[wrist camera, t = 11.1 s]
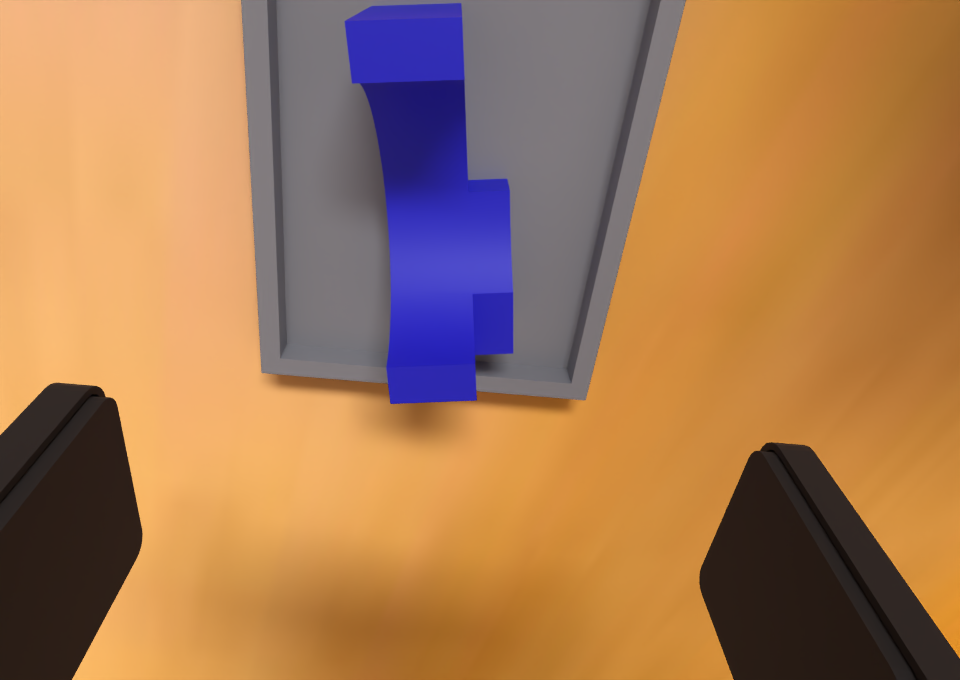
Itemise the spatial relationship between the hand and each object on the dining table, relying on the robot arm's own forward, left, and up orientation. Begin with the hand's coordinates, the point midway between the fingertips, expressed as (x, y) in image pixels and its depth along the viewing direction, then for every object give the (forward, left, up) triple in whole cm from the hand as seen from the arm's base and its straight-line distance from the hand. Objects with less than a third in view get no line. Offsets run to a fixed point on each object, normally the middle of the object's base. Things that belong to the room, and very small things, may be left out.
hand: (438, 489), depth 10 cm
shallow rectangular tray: (0, 0, -18) cm, 18 cm away
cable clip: (0, 0, -17) cm, 17 cm away
